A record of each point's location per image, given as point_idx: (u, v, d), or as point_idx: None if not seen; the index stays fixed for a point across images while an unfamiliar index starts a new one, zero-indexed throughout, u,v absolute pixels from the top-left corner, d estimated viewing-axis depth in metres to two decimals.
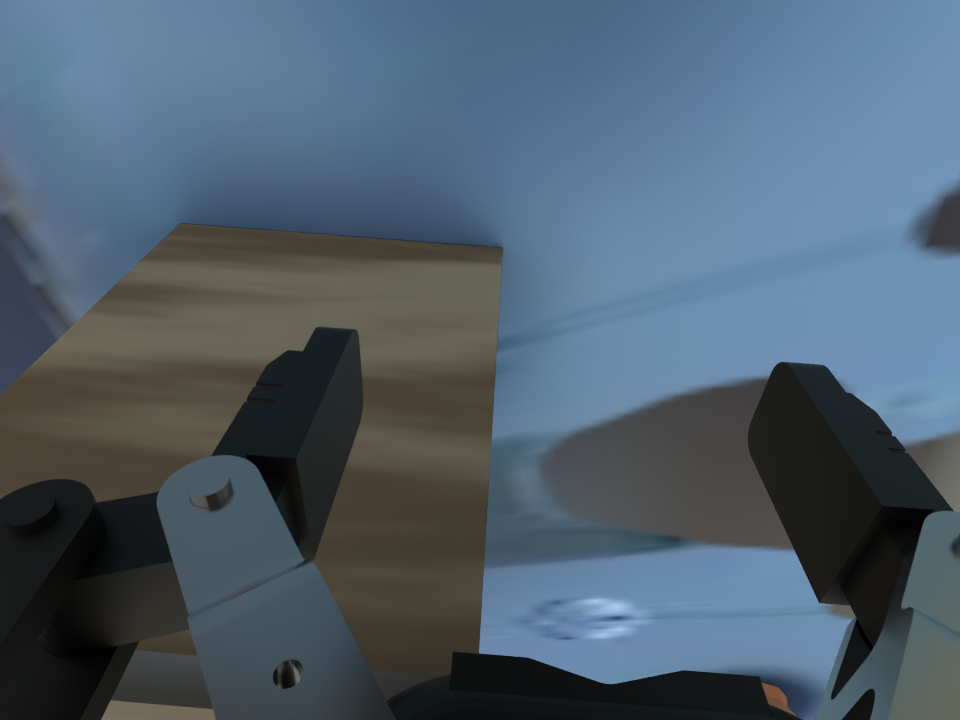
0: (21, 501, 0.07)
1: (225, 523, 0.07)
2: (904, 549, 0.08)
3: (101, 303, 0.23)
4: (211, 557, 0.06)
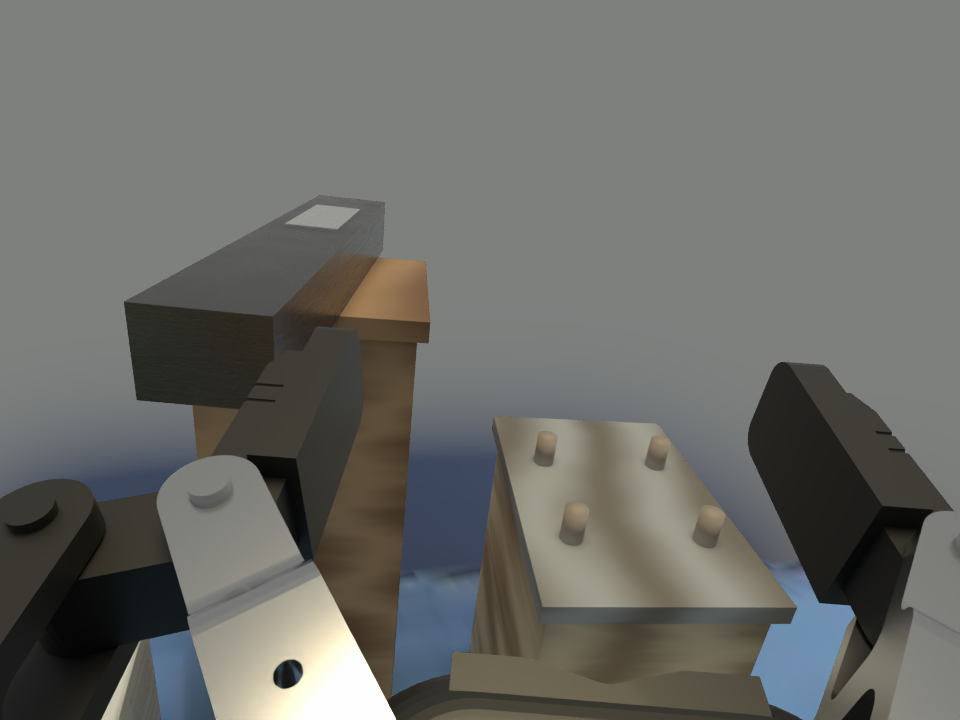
0: (21, 501, 0.07)
1: (226, 522, 0.07)
2: (905, 549, 0.08)
3: None
4: (211, 557, 0.06)
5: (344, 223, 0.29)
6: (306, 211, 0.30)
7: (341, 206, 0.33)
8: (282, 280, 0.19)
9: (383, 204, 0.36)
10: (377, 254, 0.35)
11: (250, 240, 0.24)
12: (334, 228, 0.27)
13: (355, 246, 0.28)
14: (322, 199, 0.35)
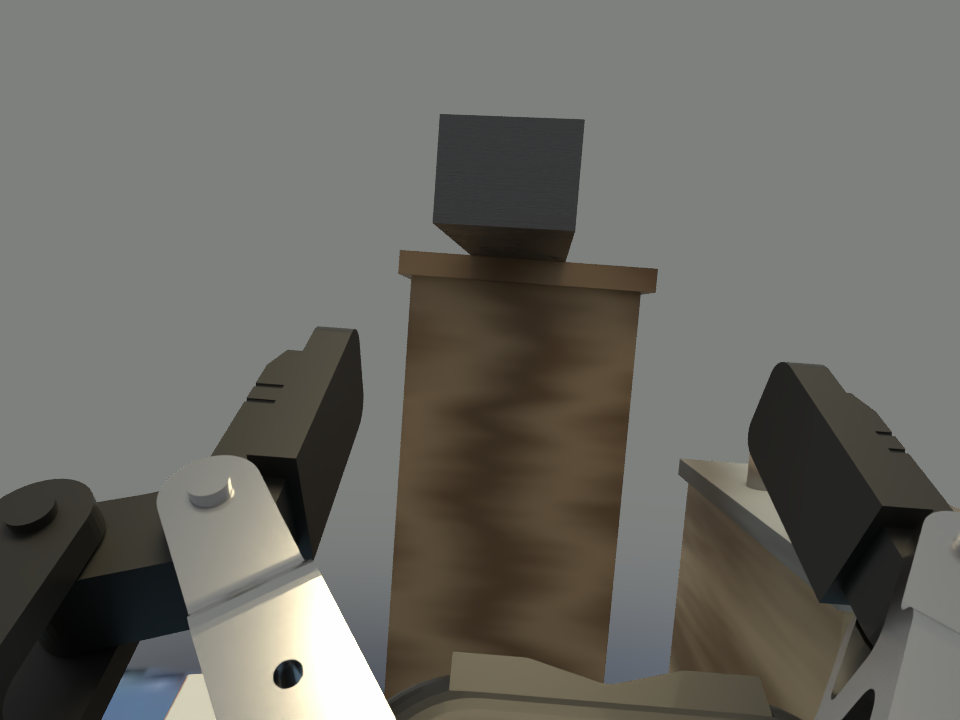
0: (21, 501, 0.07)
1: (225, 523, 0.07)
2: (905, 549, 0.08)
3: None
4: (211, 557, 0.06)
5: None
6: None
7: None
8: None
9: None
10: None
11: None
12: None
13: None
14: None
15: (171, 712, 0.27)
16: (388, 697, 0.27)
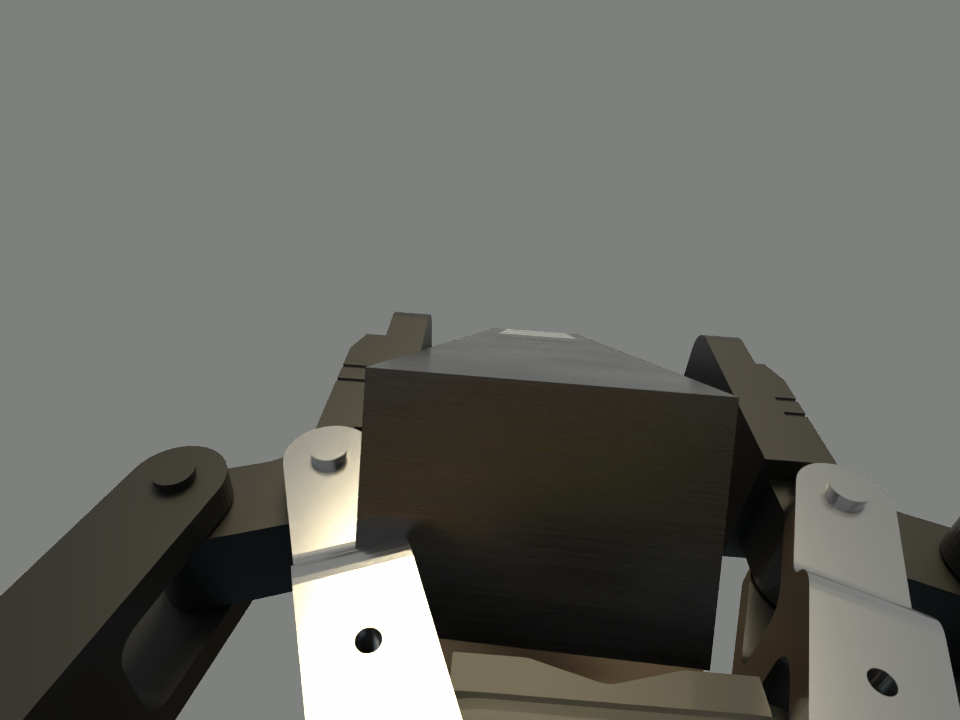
0: (169, 463, 0.07)
1: (337, 489, 0.07)
2: (784, 498, 0.08)
3: None
4: (344, 515, 0.07)
5: None
6: (505, 330, 0.22)
7: None
8: (616, 364, 0.10)
9: None
10: None
11: (477, 340, 0.15)
12: (570, 338, 0.18)
13: None
14: None
15: None
16: None
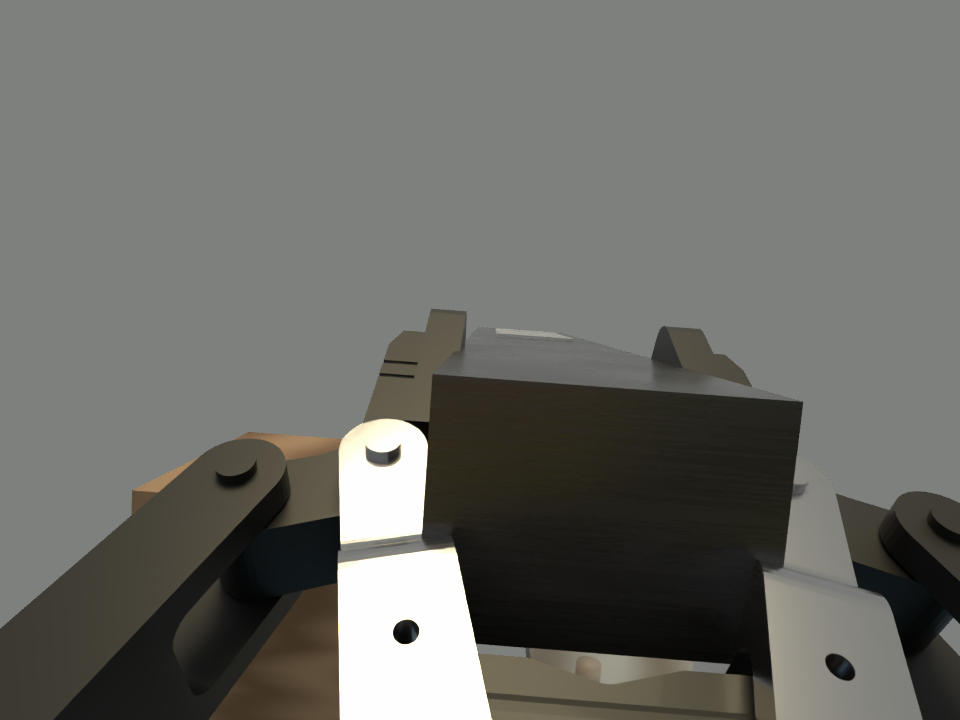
0: (231, 453, 0.08)
1: (388, 480, 0.08)
2: None
3: None
4: (404, 505, 0.07)
5: (566, 337, 0.20)
6: None
7: None
8: (646, 367, 0.10)
9: None
10: None
11: (483, 341, 0.15)
12: (568, 338, 0.18)
13: None
14: (489, 328, 0.27)
15: None
16: None
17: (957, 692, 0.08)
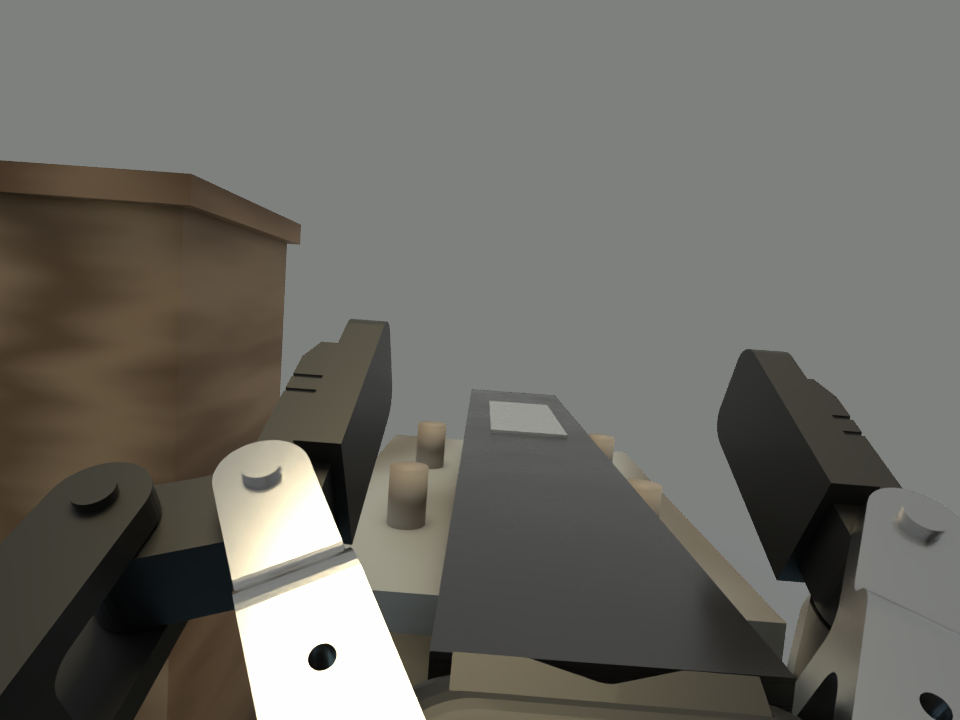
0: (86, 481, 0.07)
1: (274, 505, 0.07)
2: (852, 524, 0.08)
3: None
4: (269, 535, 0.07)
5: (560, 425, 0.20)
6: (491, 410, 0.22)
7: (516, 402, 0.25)
8: (640, 547, 0.10)
9: (556, 398, 0.28)
10: None
11: (478, 460, 0.15)
12: (561, 434, 0.18)
13: None
14: (482, 394, 0.27)
15: None
16: None
17: None
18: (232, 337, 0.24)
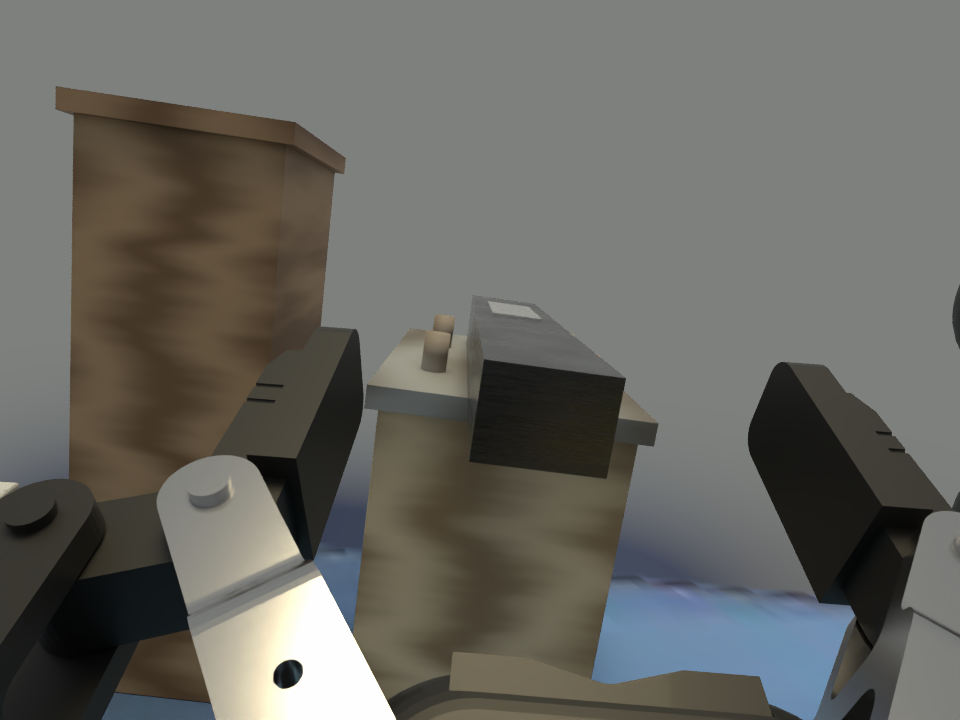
0: (21, 501, 0.07)
1: (226, 522, 0.07)
2: (904, 549, 0.08)
3: None
4: (211, 557, 0.06)
5: (537, 315, 0.30)
6: (490, 305, 0.31)
7: None
8: (575, 352, 0.20)
9: (535, 305, 0.37)
10: None
11: (487, 322, 0.25)
12: (538, 318, 0.28)
13: None
14: (481, 298, 0.36)
15: None
16: None
17: None
18: (303, 242, 0.33)
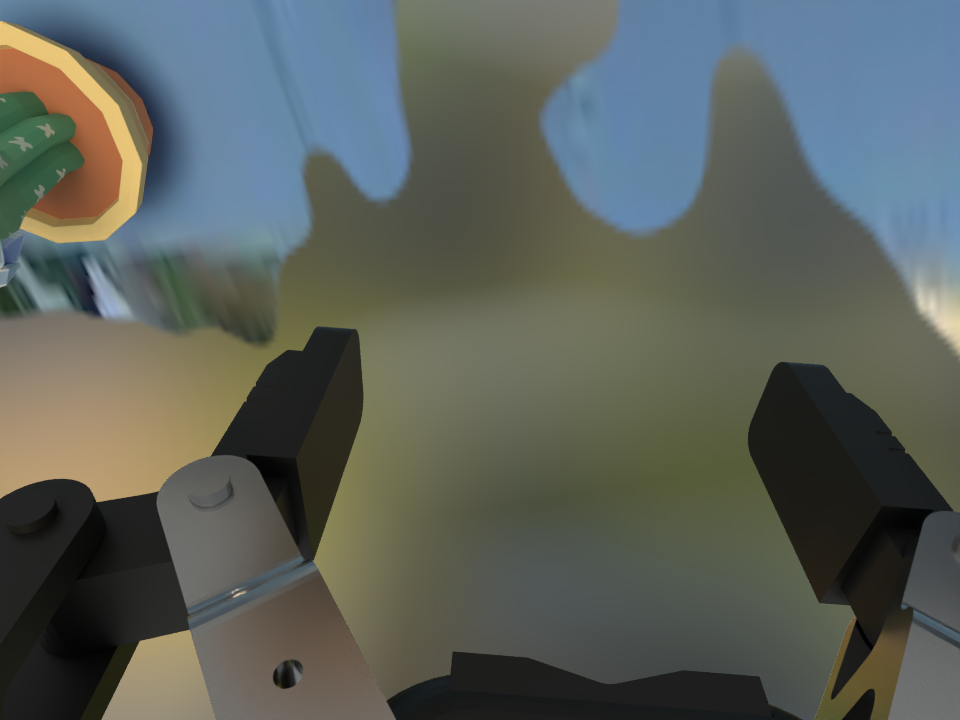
0: (21, 501, 0.07)
1: (225, 522, 0.07)
2: (904, 549, 0.08)
3: None
4: (211, 557, 0.06)
5: None
6: None
7: None
8: None
9: None
10: None
11: None
12: None
13: None
14: None
15: None
16: None
17: None
18: None
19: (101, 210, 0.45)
